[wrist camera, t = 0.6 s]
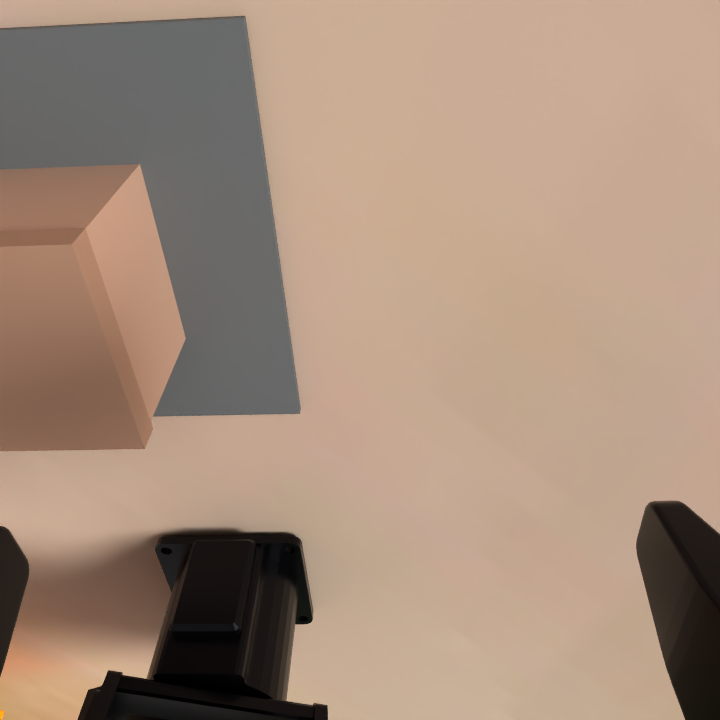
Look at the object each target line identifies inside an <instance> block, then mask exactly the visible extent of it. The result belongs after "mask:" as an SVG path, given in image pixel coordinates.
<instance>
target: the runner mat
mask: <svg viewBox="0 0 720 720" xmlns="http://www.w3.org/2000/svg"><path fill="white" fill-rule="evenodd" d="M130 164H140V167H141V170H142V174H143V178H144V182H145V186H146V189H147V193H148V197H149V201H150V205H151V208H152V212H153V216H154V220H155V224H156V227H157V231H158V235H159V239H160V242H161V246H162V250H163V254H164V258H165V261H166V265H167V269H168V273H169V277H170V280H171V284H172V288H173V292H174V296H175V299H176V303H177V307H178V311H179V315H180V318H181V322H182V326H183V330H184V334H185V337H186V339H185V342H184V344H183V346H182V349H181V351H180V353H179V356H178V358H177V360H176V363H175V365H174V368H173V370H172V372H171V375H170V377H169V379H168V382H167V384H166V386H165V389H164V391H163V394H162V396H161V398H160V401H159V403H158V405H157V408H156V410H155V412H154V415H153V416H203V415H256V414H300V409H301V408H300V401H299V394H298V387H297V379H296V372H295V365H294V358H293V351H292V344H291V337H290V330H289V323H288V316H287V308H286V301H285V294H284V287H283V280H282V273H281V266H280V259H279V252H278V245H277V237H276V230H275V223H274V216H273V209H272V202H271V195H270V188H269V181H268V174H267V167H266V159H265V152H264V145H263V138H262V131H261V124H260V117H259V110H258V103H257V96H256V88H255V81H254V74H253V67H252V60H251V53H250V46H249V39H248V32H247V25H246V18H245V16H234V17H214V18H195V19H175V20H155V21H136V22H116V23H97V24H77V25H58V26H38V27H19V28H0V170H3V169H28V168H54V167H79V166H104V165H130Z"/></svg>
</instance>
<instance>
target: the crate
mask: <svg viewBox="0 0 720 720" xmlns="http://www.w3.org/2000/svg"><path fill="white" fill-rule="evenodd" d="M185 339H186V337H185V334H184V330H183V326H182V322H181V318H180V315H179V311H178V307H177V303H176V299H175V296H174V292H173V288H172V284H171V280H170V277H169V273H168V269H167V265H166V261H165V258H164V254H163V250H162V246H161V242H160V239H159V235H158V231H157V227H156V224H155V220H154V216H153V212H152V208H151V205H150V201H149V197H148V193H147V189H146V186H145V182H144V178H143V174H142V170H141V167H140V164H130V165H104V166H79V167H54V168H28V169H3V170H0V451H37V450H98V449H145V447H146V444H147V442H148V440H149V437H150V435H151V432H152V430H153V427H152V424H151V419H152V417H153V415H154V412H155V410H156V408H157V405H158V403H159V401H160V398H161V396H162V394H163V391H164V389H165V386H166V384H167V382H168V379H169V377H170V375H171V372H172V370H173V368H174V365H175V363H176V360H177V358H178V356H179V353H180V351H181V349H182V346H183V344H184V342H185Z"/></svg>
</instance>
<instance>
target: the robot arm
mask: <svg viewBox="0 0 720 720" xmlns="http://www.w3.org/2000/svg"><path fill="white" fill-rule="evenodd" d="M636 549H637V556H638V561H639V565H640V569H641V572H642V576H643V580H644V584H645V588H646V592H647V596H648V600H649V604H650V608H651V612H652V616H653V620H654V623H655V627H656V631H657V635H658V639H659V643H660V647H661V651H662V654H663V658H664V661H665V665H666V668H667V671H668V674H669V677H670V680H671V683H672V686H673V688H674V691H675V694H676V696H677V699H678V702H679V704H680V707H681V710H682V712H683V715H684V718H685V720H720V534H719V533H718V532H717V531H716V530H715V529H713V528H712V527H711V526H710V525H709V524H708V523H706V522H705V521H704V520H703V519H702V518H701V517H699V516H698V515H697V514H696V513H695V512H694V511H692V510H691V509H690V508H689V507H688V506H686V505H685V504H684V503H682V502H679V501H653V502H650V503H649V504H648V505H647V506H646V508H645V511H644V515H643V519H642V522H641V526H640V529H639V533H638V537H637V543H636ZM155 551H156V554H157V556H158V559H159V561H160V564H161V566H162V569H163V571H164V574H165V576H166V579H167V581H168V584H169V586H170V589H171V592H172V594H171V597H170V600H169V604H168V607H167V611H166V614H165V618H164V621H163V624H162V628H161V631H160V635H159V638H158V641H157V645H156V648H155V652H154V655H153V659H152V662H151V665H150V669H149V672H148V676H147V679H144V678H137V677H131V676H125V675H122V674H123V672H116V671H110V670H109V671H108V672H107V675H106V677H105V680H104V683H103V685H102V686H101V687H97V688H93V689H90V690H88V692H87V695H86V698H85V700H84V703H83V706H82V709H81V712H80V714H79V717H78V720H328V710H327V705H323V704H317V703H314V704H313V705H307V704H301V703H294V702H288V701H286V699H287V690H288V682H289V673H290V664H291V656H292V647H293V638H294V630H295V624H308V623H311V622H312V620H313V606H312V600H311V594H310V588H309V582H308V577H307V571H306V565H305V559H304V553H303V547H302V542H301V540H300V539H299V538H298V537H295V536H290V535H280V536H171V537H162V538H160V539H159V540H158V542H157V545H156V548H155ZM28 576H29V564H28V560H27V558H26V556H25V555H24V553H23V552H22V550H21V548H20V547H19V545H18V543H17V542H16V540H15V539H14V537H13V535H12V534H11V532H10V531H9V530H8V529H7V528H5V527H3V526H0V676H1V673H2V669H3V666H4V663H5V659H6V656H7V652H8V649H9V645H10V642H11V638H12V634H13V631H14V627H15V624H16V620H17V617H18V613H19V609H20V606H21V602H22V599H23V595H24V591H25V588H26V584H27V581H28Z"/></svg>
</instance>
